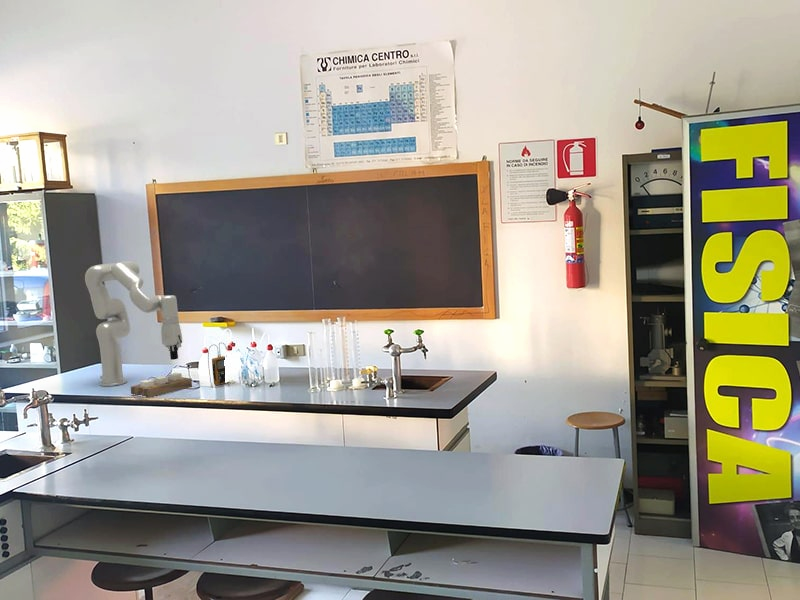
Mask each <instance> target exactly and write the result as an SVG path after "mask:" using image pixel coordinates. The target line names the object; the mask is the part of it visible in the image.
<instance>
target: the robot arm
mask: <svg viewBox="0 0 800 600" xmlns="http://www.w3.org/2000/svg"><path fill="white" fill-rule="evenodd" d="M139 274H140V266H139V265H138V263H136V262H135V261H133V260H128V261H127V260H126V261H118V262H114V263H113V262H112V263H102V264H101V263H100V264H96V265H92V266H90V267H89V268H88V269H87V270H86V272H85V275H84V281H85V285H86V288H87V289H88V293H89V295H90V300H91V303H92V308H93V312H94V315H95V317H96V318H97V319H99V320H107V319H112V320H107V321H104V322H101V323H99V324H98V325H97V327H96V329H95V334H96V338H97V340H98V345H99V352H100V353H99V354H100V362H101V371H102V372H101V373H102V374H101V376H100V375H99V376H100V377H99V378H100V379H102V381H101V382H99V385H100V386H101V387H114V386H120V385H123V384H126V383H127V382H128V380H127V379H126V378H124V374H123V373H124V371H123V363H122V362H123V361H122V353H121V351H122V350H121V346H120V344H119V342H118V340H117V339H122V338H125V337H127V336H128V335H129V334H130V332H131V326H130V325H131V324H130V321H129V317H128V316H129V315H128V312H127V309H126V305H125V303H124V302H123V301H122V300H121V299H120V298H116V297H113V298H111V297H110V295H109V294H110V293H109V291H108V289H107V287H106V286H105V285H104V283H103V282H109V281H110V282H111V281H118V282H119V283H120V285H122V286H123V287H124V288H125V289H126V290H127V291H129V298H130V301H131V302H132V303H133V305H134V306H136V307H137V308H138V309H139V310H140V311H141V312H143V313H145V314H146V313H147V314H149V313H154V312H155V313H156V312H159V311H161V312H160V313H161V323H162V324H161V331H160V332H161V344H162V345H163V346H164V347H165V348H168V352H169V356H170V357H169V358H170V360H178V359H179V354H178V352H179V348H181V347H182V343H183V336H182V330H181V325H180V320H179V310H178V302H177V301H178V300H177V296H176V295H172V294H171V295H169V294H168V295H163V294H158V295H151V296H146V295H145V294H144V293H143V292H142V291H141V289H142V287H143V285H144V280H143V278H142V277H141V276H140V275H139Z"/></svg>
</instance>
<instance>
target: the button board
mask: <svg viewBox="0 0 800 600" xmlns="http://www.w3.org/2000/svg"><path fill="white" fill-rule="evenodd" d="M192 387H193V382H192V378H190V377H183V376H182V379H178V380H169V379H168V382H166V383H163V384H157V383H155V381H154V386H151V387H147V388H145V387H140V383H139V384H136V385H135V384H134V385H132V386H130V394H135V395H142V396H146V397H145V398H148V397H152V398H155V397H154V396H156V397H159V396H163V395H166V393H167V394H170V393H174V392H177V390H178V391H181V390H185V389H188V388H192ZM184 388H185V389H184ZM180 389H181V390H180ZM173 391H174V392H173ZM169 392H170V393H169ZM162 394H163V395H162ZM135 395H134V396H135ZM158 395H159V396H158Z"/></svg>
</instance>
